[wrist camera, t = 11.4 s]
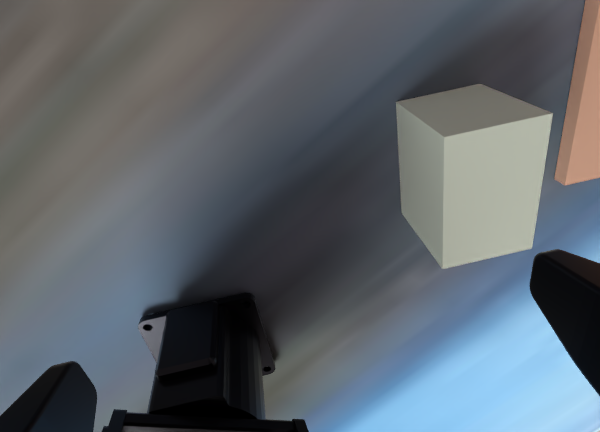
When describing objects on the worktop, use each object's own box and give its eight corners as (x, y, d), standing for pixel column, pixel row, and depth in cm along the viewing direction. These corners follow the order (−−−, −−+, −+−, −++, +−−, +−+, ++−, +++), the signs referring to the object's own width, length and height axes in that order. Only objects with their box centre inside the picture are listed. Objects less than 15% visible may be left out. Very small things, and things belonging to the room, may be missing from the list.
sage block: (472, 195, 22) (531, 248, 17) (401, 212, 22) (442, 269, 17) (479, 83, 19) (552, 113, 14) (395, 101, 18) (444, 137, 14)
